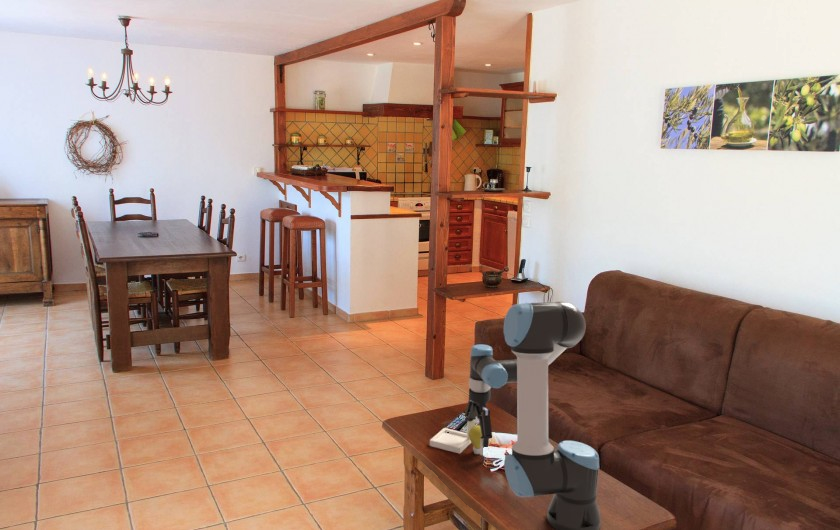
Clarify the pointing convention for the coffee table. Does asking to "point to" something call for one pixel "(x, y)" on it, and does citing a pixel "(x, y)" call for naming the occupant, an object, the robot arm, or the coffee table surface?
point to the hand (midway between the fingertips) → (477, 445)
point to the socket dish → (450, 440)
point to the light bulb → (475, 438)
